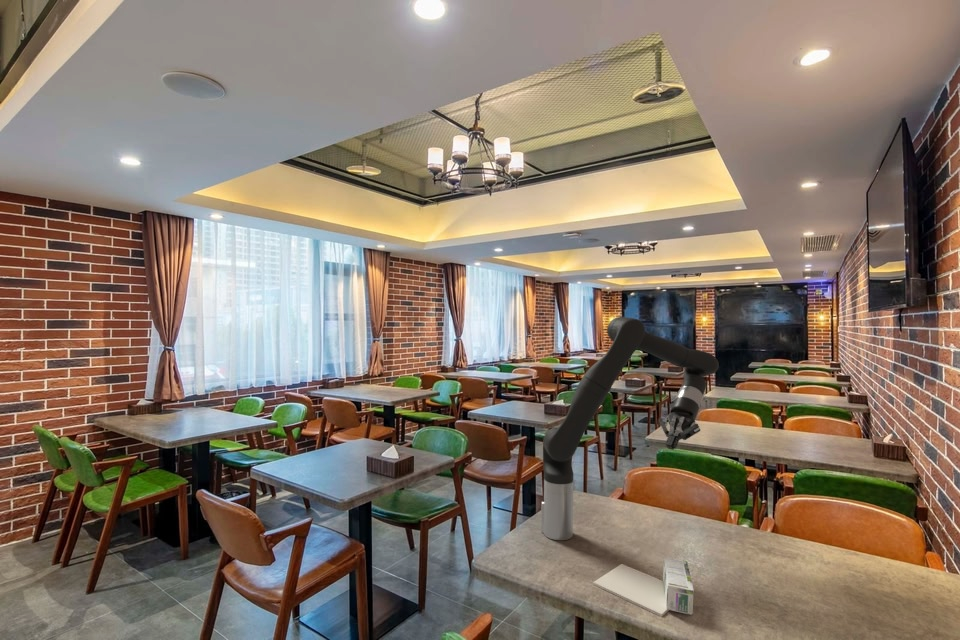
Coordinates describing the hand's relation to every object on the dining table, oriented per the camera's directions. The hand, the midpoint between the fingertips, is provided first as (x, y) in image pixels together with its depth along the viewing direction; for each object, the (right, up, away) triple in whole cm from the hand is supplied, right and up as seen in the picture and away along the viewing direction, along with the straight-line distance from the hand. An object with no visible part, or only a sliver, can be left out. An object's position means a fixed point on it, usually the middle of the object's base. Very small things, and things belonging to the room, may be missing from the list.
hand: (670, 447), depth 139 cm
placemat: (-17, -29, -24) cm, 41 cm away
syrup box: (-7, -26, -20) cm, 34 cm away
